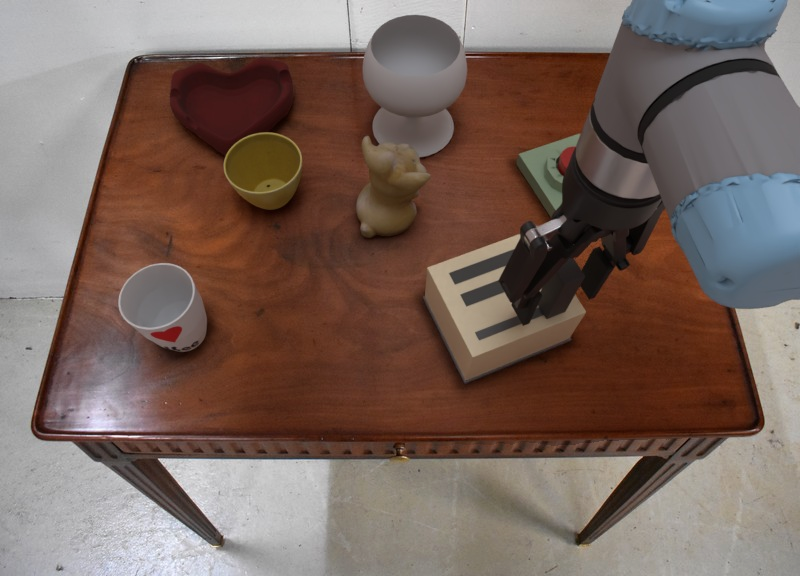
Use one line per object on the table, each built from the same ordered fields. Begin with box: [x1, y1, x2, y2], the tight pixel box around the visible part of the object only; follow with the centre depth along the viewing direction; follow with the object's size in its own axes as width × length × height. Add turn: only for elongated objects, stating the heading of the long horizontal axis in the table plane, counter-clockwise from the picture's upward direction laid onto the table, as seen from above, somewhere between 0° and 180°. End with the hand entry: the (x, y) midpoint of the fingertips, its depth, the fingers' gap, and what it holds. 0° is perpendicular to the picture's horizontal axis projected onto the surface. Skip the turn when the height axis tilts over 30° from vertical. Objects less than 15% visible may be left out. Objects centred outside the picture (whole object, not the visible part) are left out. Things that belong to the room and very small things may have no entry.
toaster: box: [422, 233, 587, 385], centre depth 70 cm, size 12×14×8 cm
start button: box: [557, 146, 576, 176], centre depth 80 cm, size 4×4×2 cm
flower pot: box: [223, 131, 303, 211], centre depth 80 cm, size 10×10×7 cm
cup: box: [118, 262, 208, 353], centre depth 69 cm, size 8×8×10 cm
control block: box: [515, 133, 581, 220], centre depth 82 cm, size 12×10×4 cm
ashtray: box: [169, 56, 295, 157], centre depth 87 cm, size 18×16×5 cm
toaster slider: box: [538, 258, 585, 319], centre depth 62 cm, size 2×2×8 cm
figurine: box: [355, 135, 432, 239], centre depth 74 cm, size 10×8×15 cm
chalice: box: [362, 14, 468, 158], centre depth 82 cm, size 14×14×15 cm
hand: (553, 301), depth 64 cm, fingers open, 7 cm apart
